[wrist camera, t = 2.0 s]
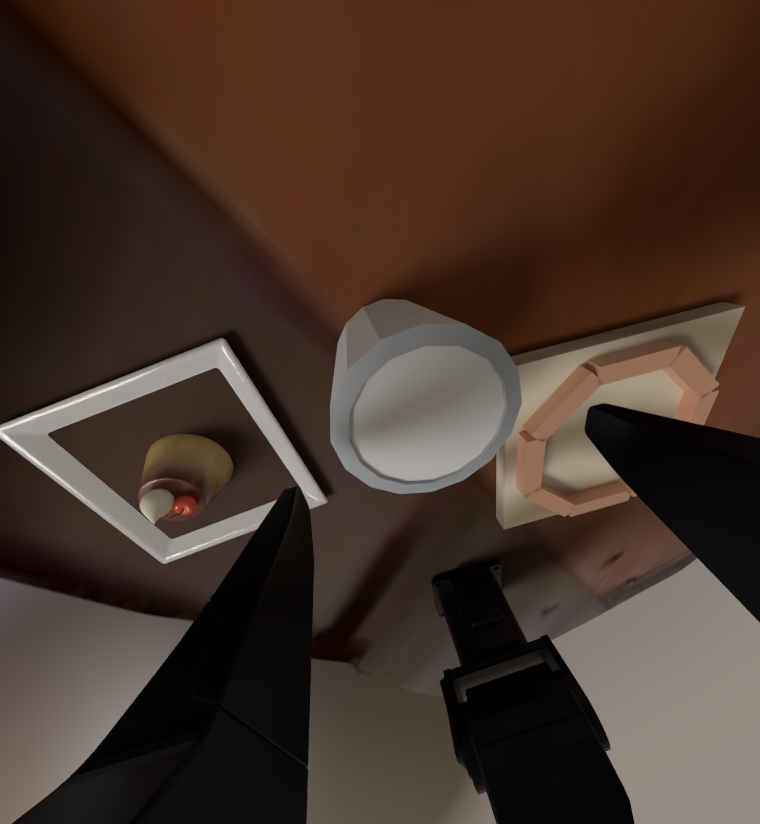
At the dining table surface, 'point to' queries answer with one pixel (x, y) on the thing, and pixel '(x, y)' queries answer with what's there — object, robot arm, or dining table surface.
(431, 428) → the shot glass
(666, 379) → the serving board
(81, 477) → the dessert
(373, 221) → the dining table surface
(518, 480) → the coaster ring
